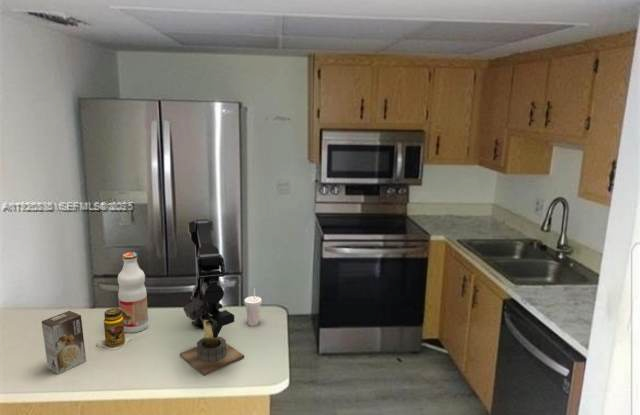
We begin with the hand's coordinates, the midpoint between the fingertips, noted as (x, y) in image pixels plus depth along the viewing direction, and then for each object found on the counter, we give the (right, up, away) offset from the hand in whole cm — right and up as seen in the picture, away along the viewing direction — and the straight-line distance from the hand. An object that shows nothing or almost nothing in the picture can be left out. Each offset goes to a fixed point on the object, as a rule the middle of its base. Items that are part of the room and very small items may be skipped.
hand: (211, 334), depth 154 cm
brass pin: (0, -3, +1) cm, 3 cm away
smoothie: (+10, -3, +25) cm, 27 cm away
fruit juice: (-32, -3, +20) cm, 38 cm away
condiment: (-35, -5, +9) cm, 37 cm away
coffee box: (-44, -8, -5) cm, 45 cm away
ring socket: (0, -8, +2) cm, 8 cm away
